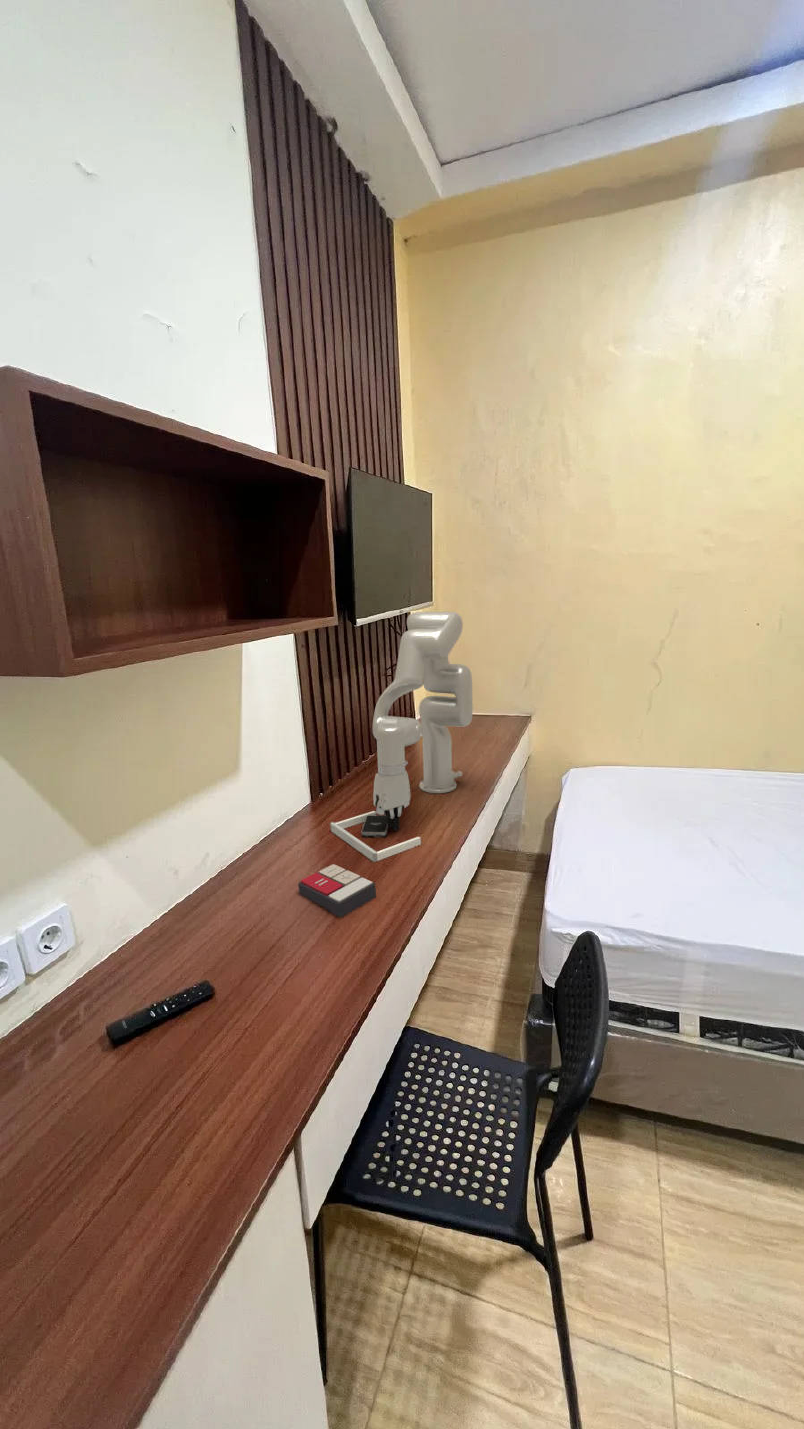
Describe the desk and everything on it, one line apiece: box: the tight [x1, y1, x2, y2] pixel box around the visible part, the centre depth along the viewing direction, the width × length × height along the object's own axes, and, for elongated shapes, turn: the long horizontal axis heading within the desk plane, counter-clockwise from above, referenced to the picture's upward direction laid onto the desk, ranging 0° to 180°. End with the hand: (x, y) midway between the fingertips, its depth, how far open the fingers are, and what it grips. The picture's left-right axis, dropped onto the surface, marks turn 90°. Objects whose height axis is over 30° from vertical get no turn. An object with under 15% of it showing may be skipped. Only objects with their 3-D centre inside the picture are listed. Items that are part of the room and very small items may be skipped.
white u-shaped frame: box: [329, 810, 422, 863], centre depth 157 cm, size 15×23×2 cm, turn 36°
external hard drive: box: [360, 815, 389, 838], centre depth 163 cm, size 7×11×2 cm, turn 175°
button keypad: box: [297, 864, 377, 918], centre depth 130 cm, size 11×4×15 cm
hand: (393, 828), depth 161 cm, fingers closed
